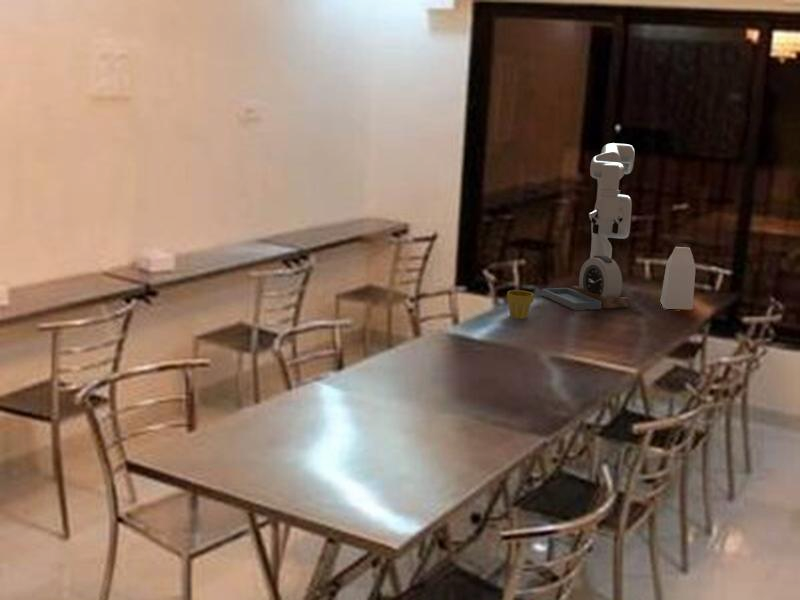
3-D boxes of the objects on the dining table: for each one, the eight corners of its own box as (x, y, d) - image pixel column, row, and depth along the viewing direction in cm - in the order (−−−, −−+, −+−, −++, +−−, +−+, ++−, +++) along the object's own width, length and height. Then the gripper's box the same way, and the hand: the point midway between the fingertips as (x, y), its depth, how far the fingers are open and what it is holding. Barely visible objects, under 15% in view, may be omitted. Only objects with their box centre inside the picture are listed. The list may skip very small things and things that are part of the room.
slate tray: (567, 294, 470) (567, 287, 470) (601, 308, 446) (601, 301, 445) (541, 295, 465) (542, 288, 464) (574, 310, 441) (575, 303, 440)
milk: (688, 305, 462) (695, 246, 456) (692, 311, 451) (699, 250, 445) (659, 303, 463) (666, 244, 457) (663, 309, 452) (670, 248, 446)
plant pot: (528, 321, 418) (530, 297, 416) (502, 318, 421) (504, 293, 419) (534, 315, 428) (536, 292, 426) (508, 312, 431) (510, 288, 429)
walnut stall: (594, 293, 475) (595, 285, 474) (627, 306, 452) (628, 297, 451) (571, 294, 470) (572, 286, 469) (603, 308, 448) (603, 298, 447)
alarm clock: (577, 295, 469) (581, 251, 464) (591, 295, 472) (595, 251, 468) (605, 307, 450) (610, 261, 446) (620, 306, 453) (625, 260, 449)
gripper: (621, 192, 457) (617, 231, 461) (586, 192, 450) (582, 232, 454) (631, 194, 450) (627, 234, 454) (596, 194, 444) (592, 235, 448)
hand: (605, 233), depth 454 cm, fingers open, 9 cm apart
